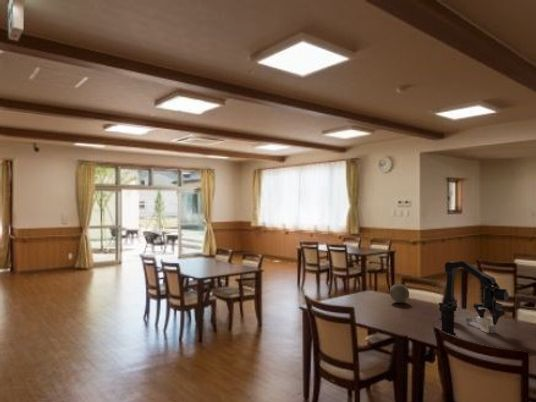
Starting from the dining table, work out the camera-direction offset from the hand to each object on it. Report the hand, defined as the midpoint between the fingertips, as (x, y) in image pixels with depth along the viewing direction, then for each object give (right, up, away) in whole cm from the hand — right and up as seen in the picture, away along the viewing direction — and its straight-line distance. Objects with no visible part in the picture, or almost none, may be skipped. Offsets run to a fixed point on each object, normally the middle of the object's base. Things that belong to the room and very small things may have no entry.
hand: (488, 322), depth 248 cm
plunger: (+5, -3, +16) cm, 17 cm away
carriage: (0, -5, +1) cm, 5 cm away
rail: (-2, -5, +6) cm, 8 cm away
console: (+5, -5, +16) cm, 17 cm away
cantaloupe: (-33, -5, +68) cm, 75 cm away
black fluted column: (-31, -5, -13) cm, 34 cm away
